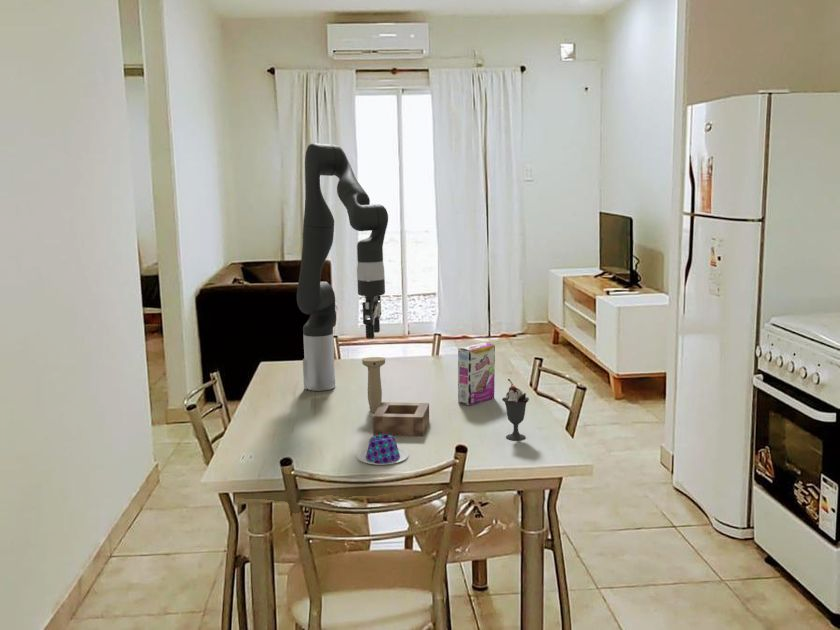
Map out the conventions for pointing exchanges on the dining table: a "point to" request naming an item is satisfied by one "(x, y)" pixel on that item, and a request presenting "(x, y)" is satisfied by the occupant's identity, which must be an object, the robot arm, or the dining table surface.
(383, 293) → the robot arm
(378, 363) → the handle
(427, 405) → the collar block
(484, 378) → the candy bar box
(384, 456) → the pudding
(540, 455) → the dining table surface
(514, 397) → the sundae
